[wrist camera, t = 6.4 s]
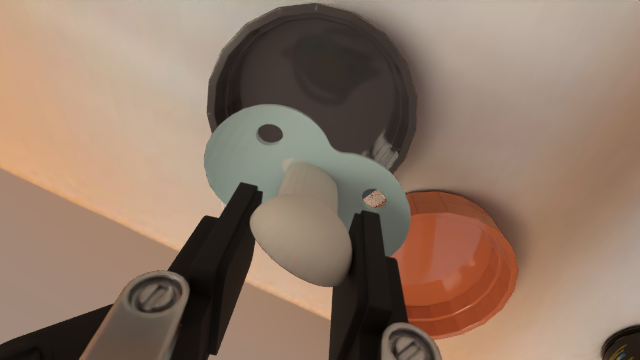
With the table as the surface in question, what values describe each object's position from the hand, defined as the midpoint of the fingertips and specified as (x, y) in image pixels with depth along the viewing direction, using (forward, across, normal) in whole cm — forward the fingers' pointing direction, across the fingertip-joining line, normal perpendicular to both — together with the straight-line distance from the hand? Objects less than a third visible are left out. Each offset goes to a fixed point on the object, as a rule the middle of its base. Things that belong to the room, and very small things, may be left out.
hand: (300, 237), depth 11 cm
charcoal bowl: (+15, +1, 0) cm, 15 cm away
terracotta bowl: (+15, -11, +11) cm, 22 cm away
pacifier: (+3, 0, 0) cm, 3 cm away
